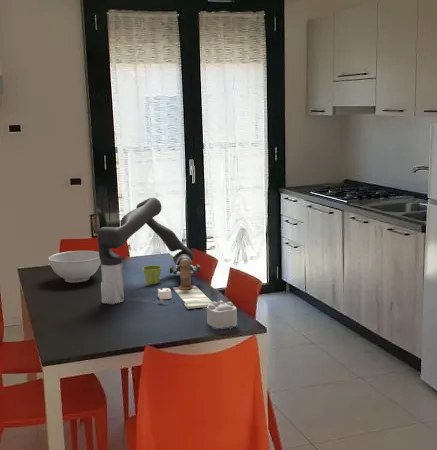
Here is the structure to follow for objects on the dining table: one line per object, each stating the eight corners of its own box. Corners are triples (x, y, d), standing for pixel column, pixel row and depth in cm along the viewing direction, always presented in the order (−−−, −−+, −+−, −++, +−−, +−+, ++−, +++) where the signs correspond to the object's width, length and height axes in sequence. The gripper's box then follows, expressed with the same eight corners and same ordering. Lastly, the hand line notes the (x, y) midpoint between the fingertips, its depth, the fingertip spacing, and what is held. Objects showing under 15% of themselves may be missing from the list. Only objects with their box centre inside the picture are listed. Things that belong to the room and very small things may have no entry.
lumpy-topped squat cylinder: (215, 331, 244) (214, 309, 243) (202, 321, 256) (201, 300, 255) (240, 327, 248) (239, 305, 247) (226, 317, 260) (225, 296, 259)
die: (171, 301, 284) (171, 289, 283) (160, 303, 283) (159, 290, 282) (169, 298, 289) (168, 286, 288) (158, 299, 288) (157, 288, 287)
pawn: (188, 290, 295) (187, 260, 293) (177, 289, 298) (175, 259, 295) (194, 287, 300) (193, 258, 298) (183, 286, 303) (182, 257, 301)
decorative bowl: (112, 274, 337) (111, 251, 335) (90, 287, 311) (88, 263, 309) (65, 272, 343) (64, 249, 341) (39, 285, 318) (38, 261, 316)
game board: (215, 307, 274) (215, 303, 274) (187, 310, 271) (187, 306, 271) (196, 288, 305) (196, 285, 304) (171, 290, 301) (171, 287, 301)
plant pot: (141, 287, 308) (140, 270, 307) (144, 282, 318) (143, 265, 316) (161, 287, 308) (160, 269, 306) (163, 282, 317) (162, 265, 316)
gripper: (169, 257, 313) (169, 265, 297) (198, 256, 314) (200, 264, 298) (169, 272, 314) (169, 281, 299) (199, 271, 315) (200, 279, 300)
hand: (185, 272), depth 298 cm, fingers open, 8 cm apart
